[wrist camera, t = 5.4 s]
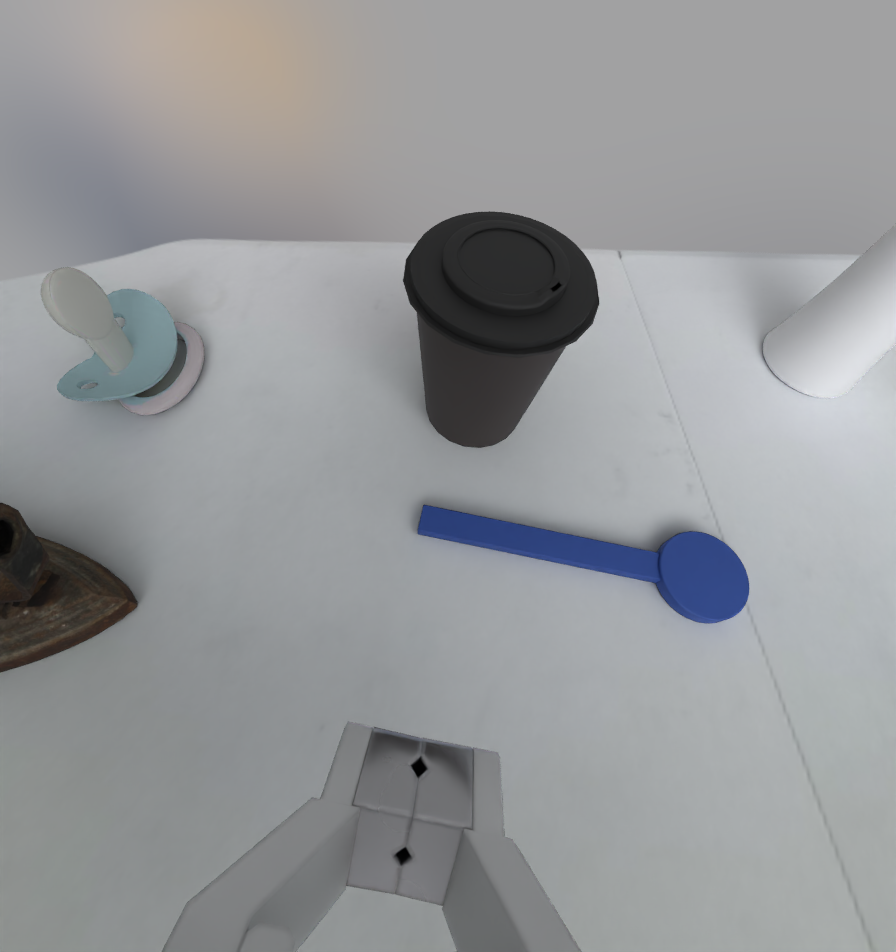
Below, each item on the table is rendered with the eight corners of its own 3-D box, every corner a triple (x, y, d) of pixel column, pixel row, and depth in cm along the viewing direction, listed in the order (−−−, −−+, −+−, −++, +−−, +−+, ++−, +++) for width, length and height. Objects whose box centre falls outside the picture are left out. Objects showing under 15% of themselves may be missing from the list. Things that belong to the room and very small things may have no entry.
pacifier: (221, 328, 28) (114, 317, 28) (182, 233, 23) (49, 217, 22) (187, 432, 25) (65, 422, 24) (132, 349, 20) (-27, 334, 19)
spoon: (410, 563, 23) (410, 558, 22) (428, 483, 25) (429, 476, 24) (744, 632, 23) (755, 629, 22) (734, 545, 25) (744, 540, 24)
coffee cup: (533, 485, 25) (605, 356, 16) (384, 450, 25) (377, 304, 17) (549, 370, 29) (615, 215, 20) (420, 340, 29) (430, 174, 20)
